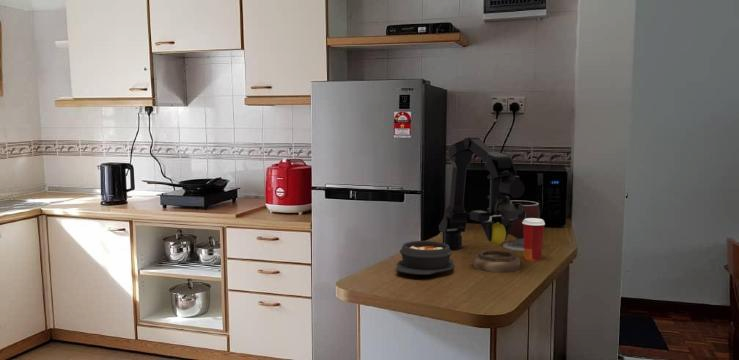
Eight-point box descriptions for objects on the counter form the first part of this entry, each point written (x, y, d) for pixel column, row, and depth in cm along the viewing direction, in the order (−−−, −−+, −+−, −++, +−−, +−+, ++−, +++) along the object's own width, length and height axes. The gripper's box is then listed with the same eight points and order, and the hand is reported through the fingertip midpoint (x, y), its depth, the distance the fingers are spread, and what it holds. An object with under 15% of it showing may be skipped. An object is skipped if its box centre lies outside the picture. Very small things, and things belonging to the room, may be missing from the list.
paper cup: (544, 257, 225) (546, 218, 223) (543, 262, 217) (544, 222, 216) (522, 255, 227) (523, 217, 225) (519, 260, 220) (521, 220, 218)
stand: (465, 266, 210) (465, 254, 210) (488, 259, 222) (488, 247, 221) (505, 274, 201) (506, 261, 200) (527, 266, 212) (528, 253, 212)
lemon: (486, 243, 213) (487, 220, 212) (502, 243, 213) (503, 220, 213) (491, 247, 208) (491, 223, 207) (507, 247, 208) (508, 223, 207)
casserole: (437, 283, 190) (438, 256, 189) (382, 275, 199) (382, 249, 198) (465, 265, 212) (466, 241, 211) (415, 259, 221) (415, 235, 220)
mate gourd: (535, 243, 247) (537, 193, 245) (541, 251, 234) (543, 198, 231) (495, 242, 249) (496, 192, 247) (498, 250, 235) (500, 197, 233)
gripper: (489, 198, 197) (487, 247, 199) (537, 195, 205) (535, 242, 207) (469, 193, 207) (468, 240, 209) (516, 191, 215) (514, 236, 217)
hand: (497, 240), depth 210 cm, fingers closed on lemon, 5 cm apart
